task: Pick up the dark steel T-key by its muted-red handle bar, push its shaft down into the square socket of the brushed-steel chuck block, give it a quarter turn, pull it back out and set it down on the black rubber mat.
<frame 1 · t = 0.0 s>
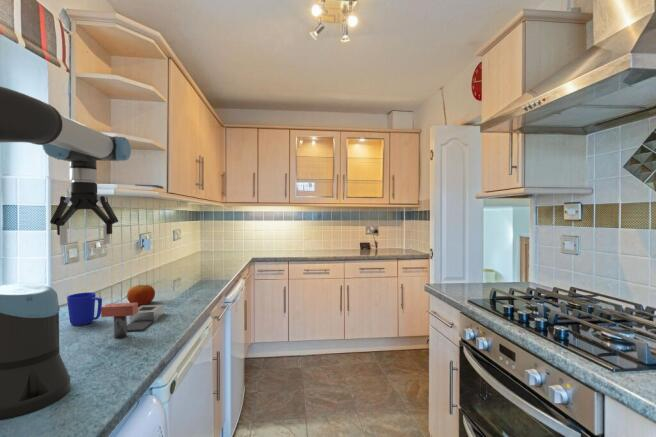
hand: (85, 244, 119), 28 cm above the worktop, fingers open, 13 cm apart
chuck block: (147, 318, 127), on the worktop
mug: (86, 324, 122), on the worktop
fruit: (141, 304, 147), on the worktop
mat: (137, 327, 118), on the worktop
key: (120, 336, 108), on the worktop
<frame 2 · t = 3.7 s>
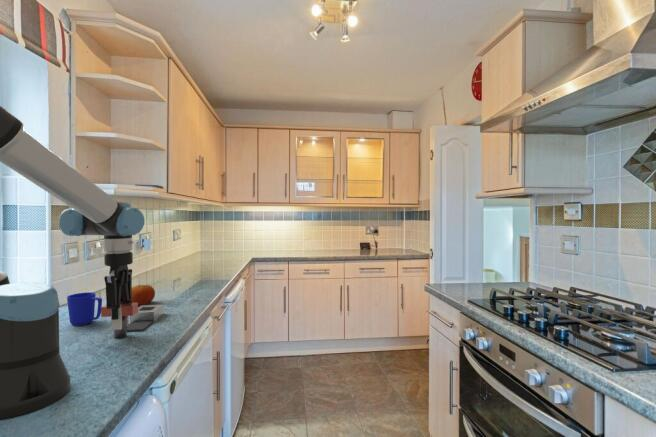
hand: (120, 326, 108), 3 cm above the worktop, fingers closed on key, 4 cm apart
key: (120, 336, 108), on the worktop, touching gripper
everything else where it was.
when the fingers open (4 cm above the worktop, at t = 13.5 s): key stays where it is, resting on mat.
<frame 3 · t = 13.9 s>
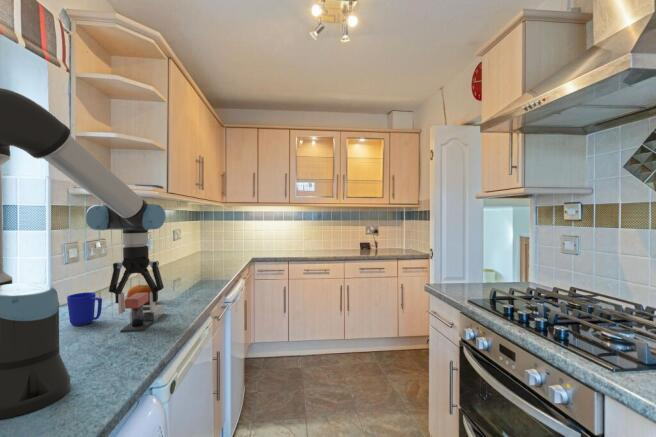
hand: (137, 311, 117), 5 cm above the worktop, fingers open, 9 cm apart
key: (137, 325, 118), point 1 cm above the worktop, touching mat
everything else where it was.
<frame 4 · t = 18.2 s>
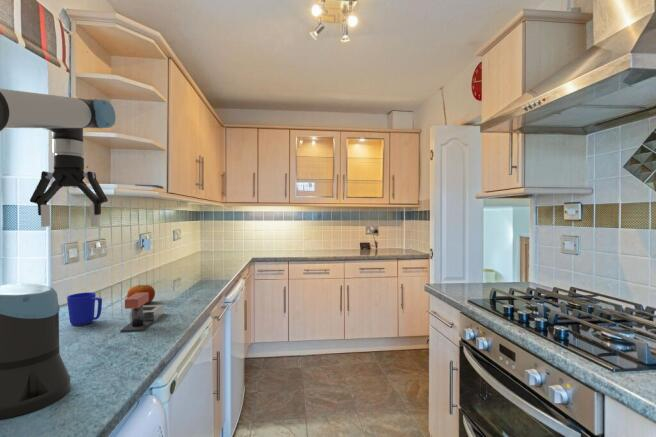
hand: (70, 226, 105), 35 cm above the worktop, fingers open, 13 cm apart
nothing on the worktop moved.
at the end: key inside the target area on the mat (0.0 cm from its centre), point 0.6 cm above the mat's base; key touching mat; the gripper is holding nothing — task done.
